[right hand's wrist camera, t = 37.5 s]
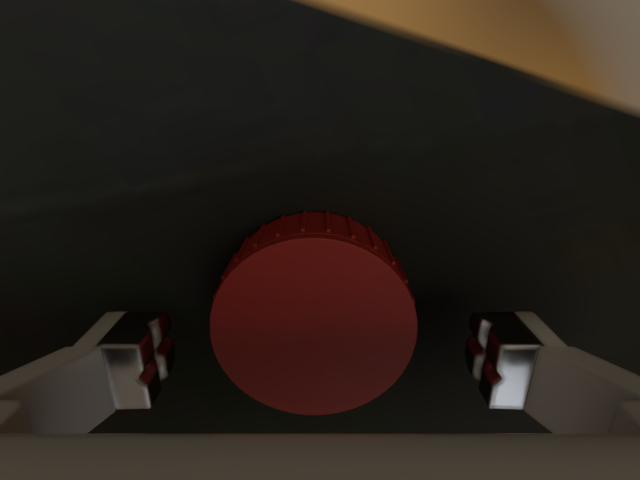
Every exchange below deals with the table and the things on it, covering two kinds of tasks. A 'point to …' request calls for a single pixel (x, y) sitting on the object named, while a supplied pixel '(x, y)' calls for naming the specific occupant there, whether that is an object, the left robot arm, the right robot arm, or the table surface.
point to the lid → (313, 315)
